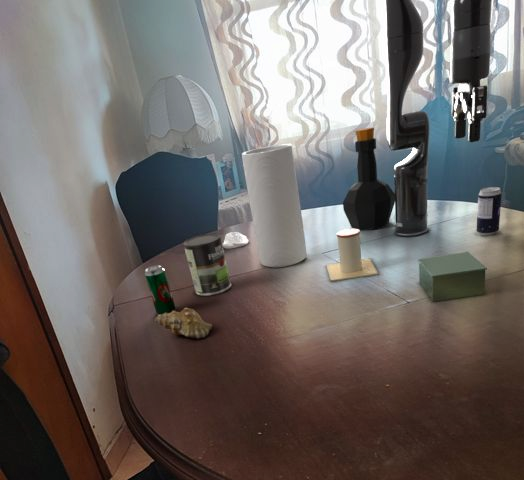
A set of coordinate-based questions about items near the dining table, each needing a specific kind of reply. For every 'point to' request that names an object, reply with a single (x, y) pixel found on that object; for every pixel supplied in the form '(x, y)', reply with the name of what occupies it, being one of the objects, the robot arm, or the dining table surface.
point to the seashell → (185, 323)
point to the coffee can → (207, 264)
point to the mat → (366, 270)
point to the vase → (275, 205)
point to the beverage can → (488, 210)
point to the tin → (452, 276)
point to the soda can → (159, 289)
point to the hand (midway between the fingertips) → (466, 139)
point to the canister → (349, 250)
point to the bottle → (368, 188)
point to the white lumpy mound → (234, 240)
